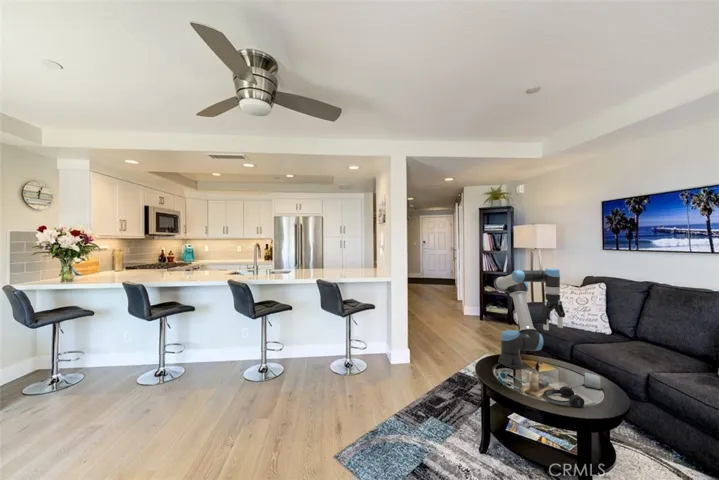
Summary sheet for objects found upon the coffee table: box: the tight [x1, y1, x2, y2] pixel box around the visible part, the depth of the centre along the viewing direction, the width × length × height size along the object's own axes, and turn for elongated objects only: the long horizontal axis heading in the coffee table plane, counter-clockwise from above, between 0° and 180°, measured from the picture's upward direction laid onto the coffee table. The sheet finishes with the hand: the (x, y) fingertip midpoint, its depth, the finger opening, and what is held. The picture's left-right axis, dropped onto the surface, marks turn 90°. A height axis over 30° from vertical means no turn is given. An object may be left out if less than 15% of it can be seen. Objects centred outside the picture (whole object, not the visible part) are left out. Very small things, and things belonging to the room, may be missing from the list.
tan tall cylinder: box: [528, 366, 540, 392], centre depth 169 cm, size 4×4×12 cm
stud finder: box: [538, 378, 550, 389], centre depth 174 cm, size 5×6×3 cm
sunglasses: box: [497, 371, 526, 390], centre depth 180 cm, size 14×15×5 cm
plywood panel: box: [519, 383, 555, 400], centre depth 170 cm, size 10×18×2 cm, turn 125°
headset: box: [543, 383, 586, 408], centre depth 159 cm, size 14×10×20 cm
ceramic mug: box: [583, 372, 603, 390], centre depth 177 cm, size 11×8×8 cm
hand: (553, 328), depth 181 cm, fingers open, 13 cm apart
